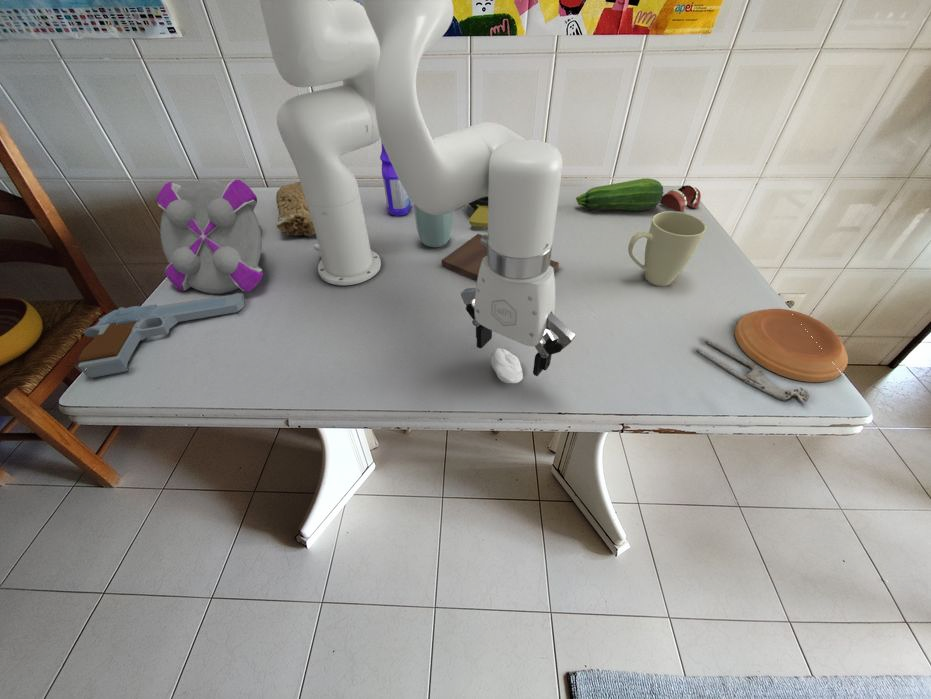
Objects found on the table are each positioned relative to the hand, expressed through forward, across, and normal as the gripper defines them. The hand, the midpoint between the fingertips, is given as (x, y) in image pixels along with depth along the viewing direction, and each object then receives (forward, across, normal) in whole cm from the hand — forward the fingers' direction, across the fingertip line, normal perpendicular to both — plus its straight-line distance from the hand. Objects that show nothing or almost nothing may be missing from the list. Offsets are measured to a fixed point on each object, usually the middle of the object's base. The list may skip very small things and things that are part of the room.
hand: (511, 355), depth 62 cm
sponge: (+4, -68, +14) cm, 69 cm away
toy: (-8, -59, -13) cm, 61 cm away
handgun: (+2, -47, -31) cm, 56 cm away
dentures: (+2, +2, +68) cm, 68 cm away
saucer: (+2, +34, +32) cm, 47 cm away
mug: (+5, +10, +38) cm, 40 cm away
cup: (+4, -34, +24) cm, 42 cm away
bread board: (+4, -18, +24) cm, 30 cm away
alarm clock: (+4, -32, +42) cm, 53 cm away
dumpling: (+5, 0, 0) cm, 5 cm away
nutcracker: (+5, +29, +20) cm, 36 cm away
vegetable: (+4, -8, +62) cm, 62 cm away
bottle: (+4, -51, +31) cm, 60 cm away
